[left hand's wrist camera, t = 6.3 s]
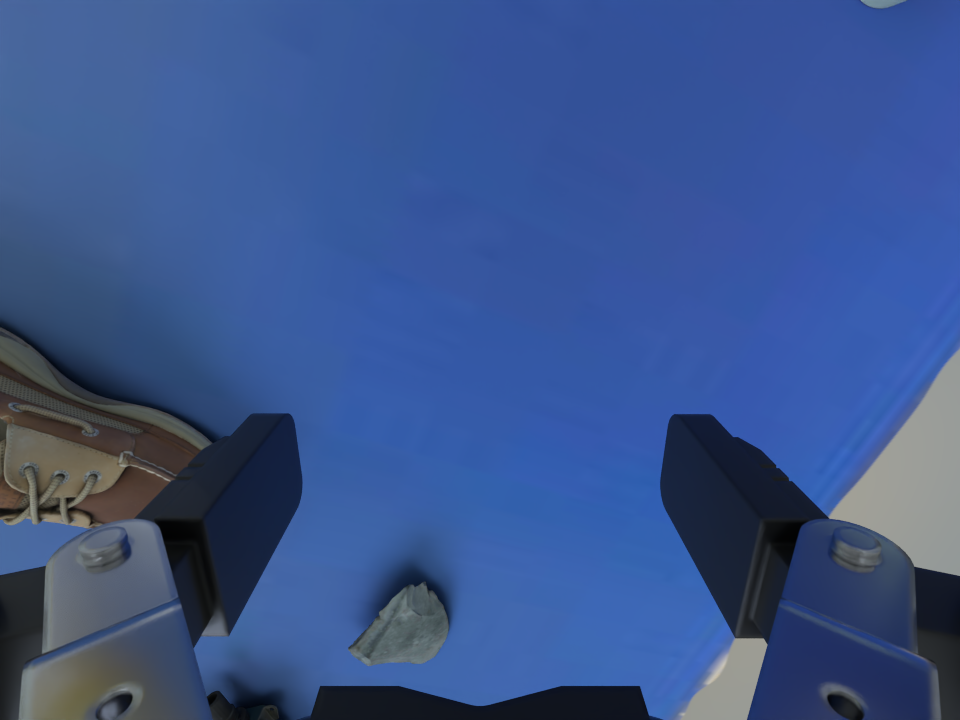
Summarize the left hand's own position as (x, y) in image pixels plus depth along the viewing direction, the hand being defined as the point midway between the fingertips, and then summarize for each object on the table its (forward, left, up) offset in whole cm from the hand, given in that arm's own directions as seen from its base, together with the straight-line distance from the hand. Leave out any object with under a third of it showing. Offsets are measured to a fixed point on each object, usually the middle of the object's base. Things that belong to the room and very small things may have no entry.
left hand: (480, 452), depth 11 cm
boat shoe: (+15, -32, -29) cm, 46 cm away
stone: (+36, -7, -29) cm, 47 cm away
